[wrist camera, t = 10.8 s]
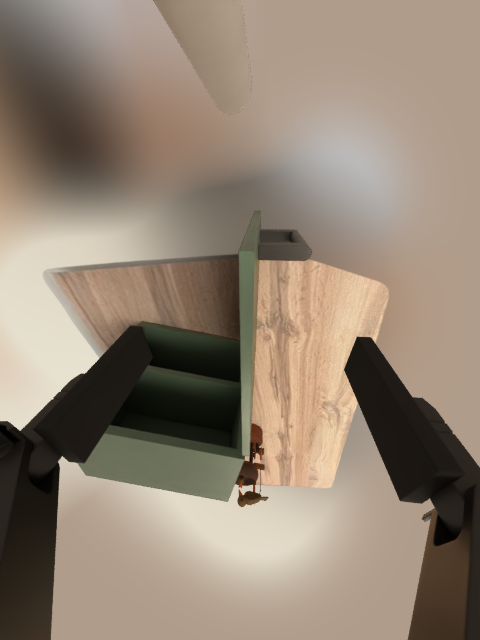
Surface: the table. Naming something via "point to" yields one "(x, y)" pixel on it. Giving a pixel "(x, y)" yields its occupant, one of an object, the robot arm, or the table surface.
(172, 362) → the cupboard
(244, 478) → the music box
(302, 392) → the table surface
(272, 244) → the door
